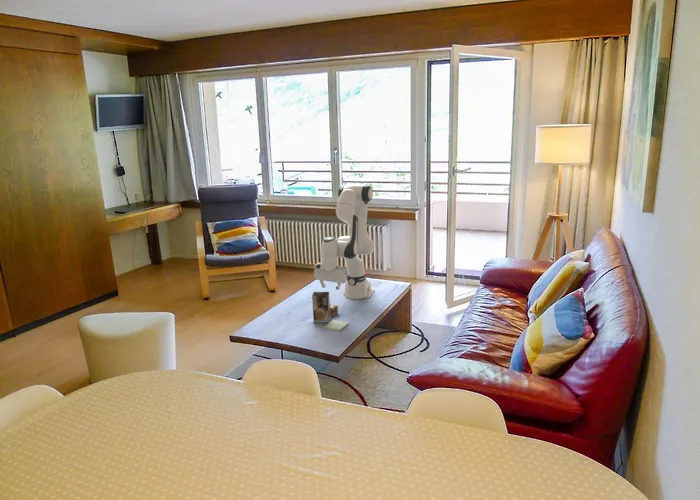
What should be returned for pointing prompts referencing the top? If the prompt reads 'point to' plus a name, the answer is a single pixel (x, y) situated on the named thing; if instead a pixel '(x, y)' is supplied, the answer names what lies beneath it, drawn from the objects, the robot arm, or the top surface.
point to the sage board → (336, 325)
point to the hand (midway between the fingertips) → (330, 288)
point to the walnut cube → (333, 310)
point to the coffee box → (321, 306)
